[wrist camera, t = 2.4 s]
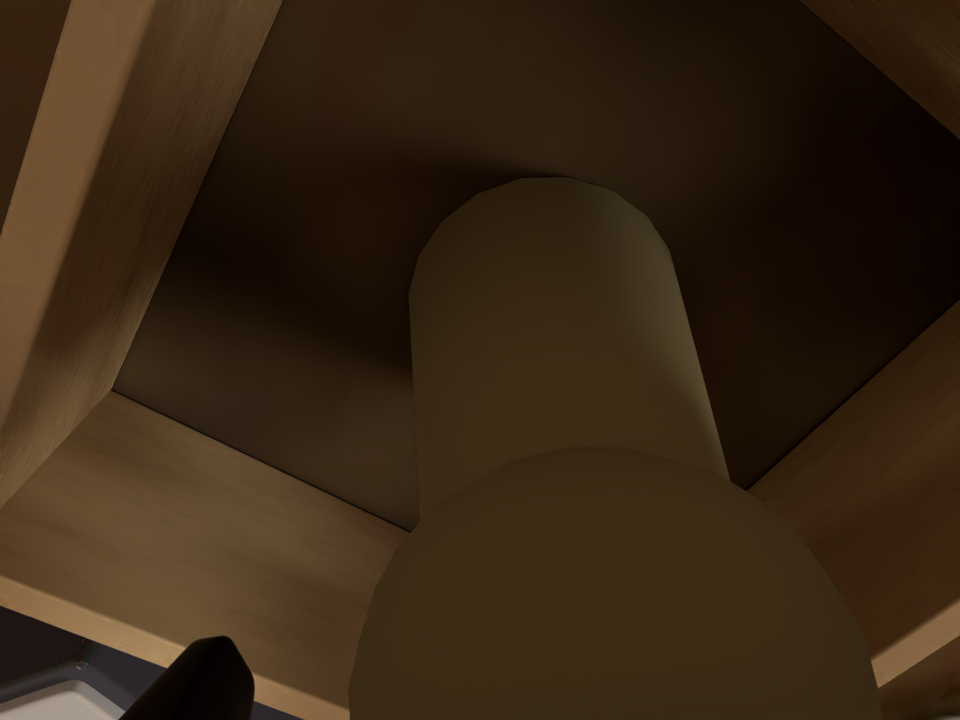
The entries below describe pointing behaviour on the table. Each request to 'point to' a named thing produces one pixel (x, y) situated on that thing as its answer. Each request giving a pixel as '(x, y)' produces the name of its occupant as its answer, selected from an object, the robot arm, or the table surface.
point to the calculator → (73, 675)
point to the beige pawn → (585, 498)
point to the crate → (297, 505)
